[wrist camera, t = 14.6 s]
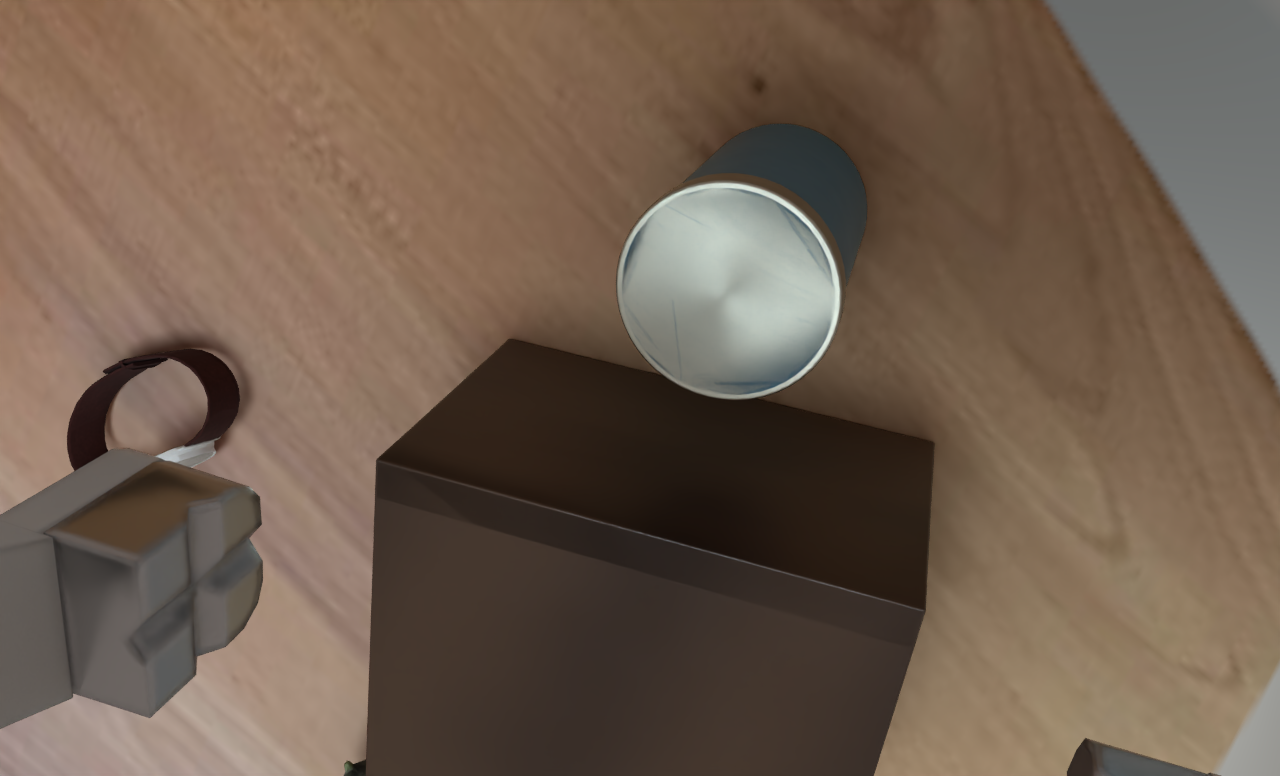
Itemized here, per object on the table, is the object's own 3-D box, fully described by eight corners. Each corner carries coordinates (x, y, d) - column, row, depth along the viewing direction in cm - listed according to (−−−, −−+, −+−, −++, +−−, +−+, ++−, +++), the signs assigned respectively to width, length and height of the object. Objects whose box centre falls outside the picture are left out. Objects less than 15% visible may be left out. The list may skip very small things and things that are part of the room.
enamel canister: (890, 139, 29) (866, 207, 22) (848, 312, 32) (815, 424, 24) (708, 103, 30) (630, 158, 23) (680, 274, 33) (602, 372, 25)
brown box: (935, 442, 32) (926, 610, 24) (848, 736, 38) (817, 954, 30) (508, 338, 35) (375, 459, 27) (482, 626, 40) (364, 799, 32)
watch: (148, 490, 42) (81, 537, 39) (75, 391, 41) (1, 431, 38) (280, 418, 39) (219, 462, 36) (205, 308, 38) (135, 344, 35)
